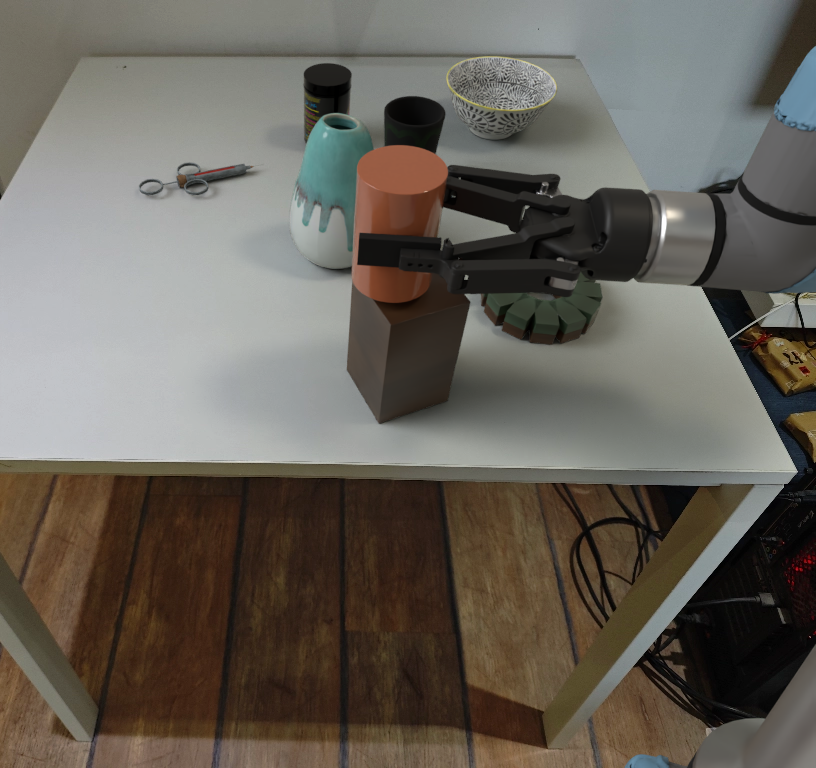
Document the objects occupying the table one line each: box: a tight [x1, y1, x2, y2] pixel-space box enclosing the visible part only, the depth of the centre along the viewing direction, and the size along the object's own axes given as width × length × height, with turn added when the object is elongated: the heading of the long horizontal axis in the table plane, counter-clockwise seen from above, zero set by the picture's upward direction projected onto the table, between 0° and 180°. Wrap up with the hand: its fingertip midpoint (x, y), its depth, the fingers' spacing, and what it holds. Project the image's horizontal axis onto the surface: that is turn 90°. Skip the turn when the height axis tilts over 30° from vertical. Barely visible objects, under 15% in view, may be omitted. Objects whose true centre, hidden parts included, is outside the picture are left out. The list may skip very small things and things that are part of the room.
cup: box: [383, 95, 446, 155], centre depth 95 cm, size 8×8×12 cm
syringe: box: [138, 161, 265, 196], centre depth 101 cm, size 8×18×2 cm, turn 110°
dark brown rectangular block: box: [346, 273, 472, 424], centre depth 71 cm, size 8×8×14 cm
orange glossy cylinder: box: [350, 145, 448, 303], centre depth 61 cm, size 7×7×11 cm
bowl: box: [445, 55, 558, 141], centre depth 108 cm, size 16×16×8 cm
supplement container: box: [302, 62, 353, 145], centre depth 104 cm, size 7×7×10 cm
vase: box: [288, 113, 374, 270], centre depth 84 cm, size 12×12×18 cm
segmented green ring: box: [480, 272, 604, 346], centre depth 83 cm, size 13×13×3 cm
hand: (361, 219), depth 61 cm, fingers closed on orange glossy cylinder, 7 cm apart
